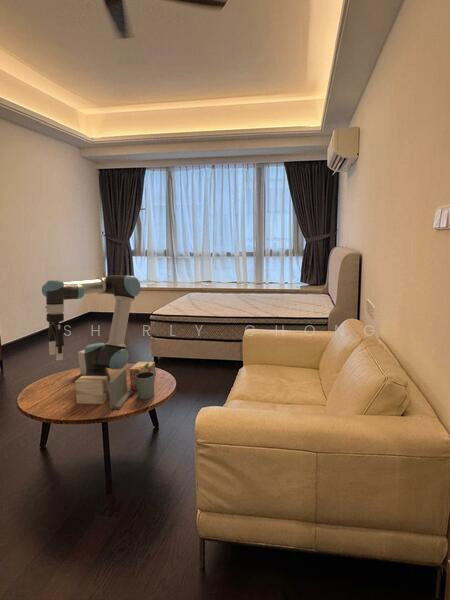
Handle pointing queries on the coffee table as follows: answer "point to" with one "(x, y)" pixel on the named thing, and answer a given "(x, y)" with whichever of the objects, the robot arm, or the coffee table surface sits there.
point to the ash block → (92, 389)
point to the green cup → (145, 384)
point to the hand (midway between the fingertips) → (55, 357)
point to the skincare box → (82, 362)
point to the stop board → (119, 390)
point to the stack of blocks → (138, 369)
